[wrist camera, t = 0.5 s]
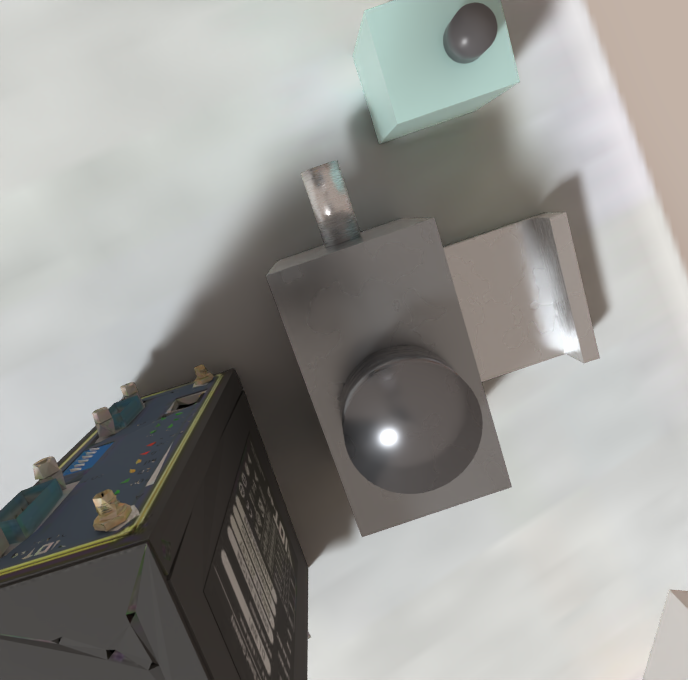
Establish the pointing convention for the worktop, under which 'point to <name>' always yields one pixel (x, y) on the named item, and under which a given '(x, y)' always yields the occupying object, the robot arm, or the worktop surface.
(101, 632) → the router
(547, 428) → the worktop surface
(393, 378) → the motor
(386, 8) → the block
